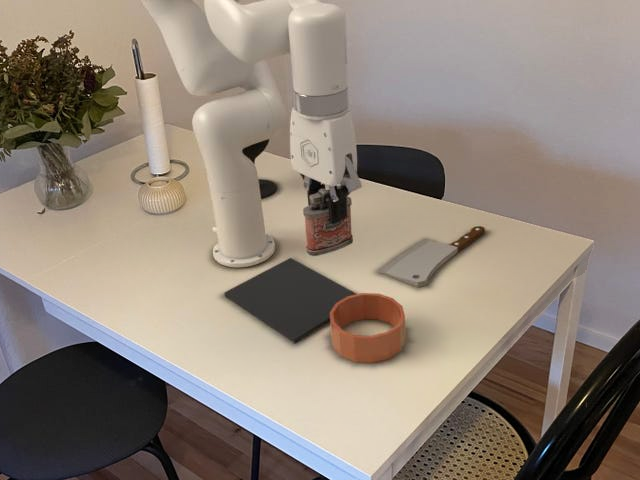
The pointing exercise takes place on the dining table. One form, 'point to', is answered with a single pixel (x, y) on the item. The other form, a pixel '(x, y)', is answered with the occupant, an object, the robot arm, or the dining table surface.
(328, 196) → the lighter
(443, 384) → the dining table surface
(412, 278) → the kitchen cleaver
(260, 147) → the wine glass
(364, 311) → the orange hollow ring
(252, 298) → the mat
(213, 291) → the dining table surface
